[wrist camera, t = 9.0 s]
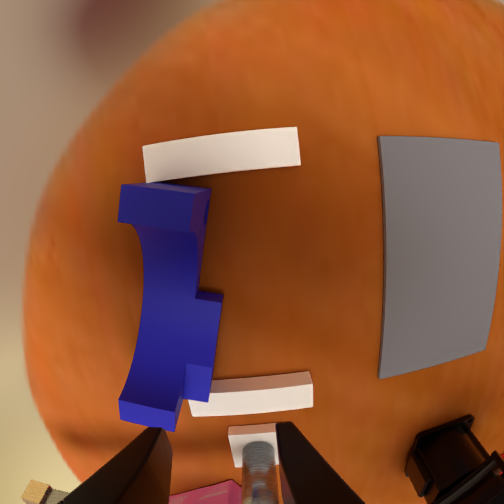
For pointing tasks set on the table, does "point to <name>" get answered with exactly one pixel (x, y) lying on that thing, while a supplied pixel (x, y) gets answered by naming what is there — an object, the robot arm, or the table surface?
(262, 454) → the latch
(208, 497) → the gum box
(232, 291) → the table surface
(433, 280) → the mat
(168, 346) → the cable clip
